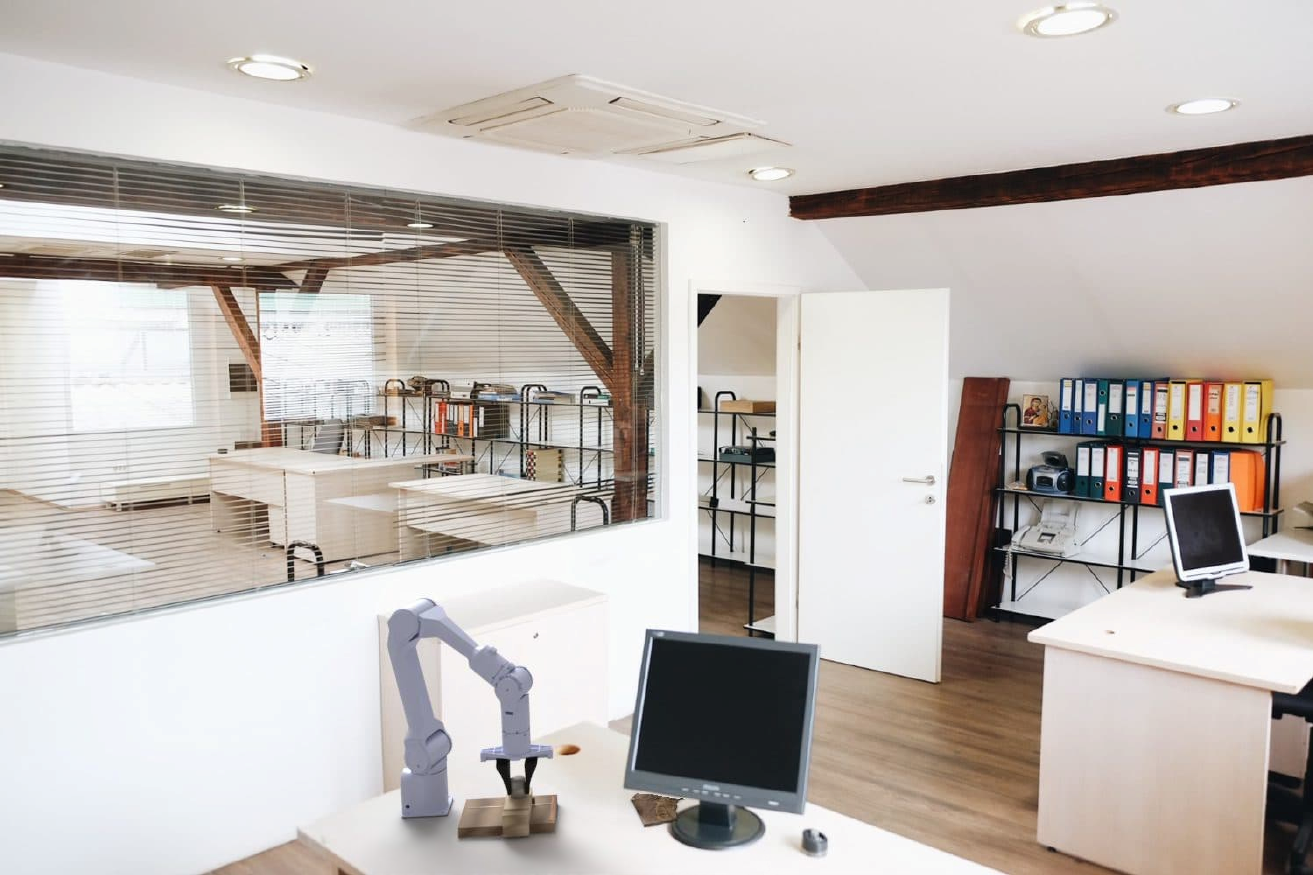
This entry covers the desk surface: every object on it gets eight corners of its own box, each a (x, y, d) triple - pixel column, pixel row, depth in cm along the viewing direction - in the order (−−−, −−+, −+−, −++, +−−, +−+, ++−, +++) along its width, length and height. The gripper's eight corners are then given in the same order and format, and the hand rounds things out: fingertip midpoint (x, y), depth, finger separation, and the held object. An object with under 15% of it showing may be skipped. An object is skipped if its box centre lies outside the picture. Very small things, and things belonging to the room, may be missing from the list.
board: (458, 837, 188) (457, 827, 187) (466, 808, 200) (466, 798, 199) (554, 832, 189) (554, 822, 188) (557, 803, 201) (557, 794, 200)
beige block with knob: (503, 836, 186) (501, 797, 185) (508, 808, 197) (507, 771, 197) (531, 835, 186) (530, 796, 186) (535, 807, 198) (534, 770, 197)
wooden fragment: (673, 829, 189) (673, 824, 189) (619, 826, 191) (619, 821, 191) (693, 773, 214) (693, 768, 214) (646, 770, 216) (645, 765, 216)
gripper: (477, 738, 188) (480, 803, 189) (550, 734, 189) (553, 800, 190) (481, 724, 195) (484, 787, 196) (552, 720, 196) (555, 783, 197)
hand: (518, 792), depth 194 cm, fingers closed on beige block with knob, 3 cm apart
